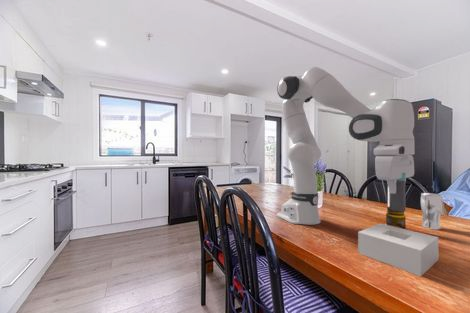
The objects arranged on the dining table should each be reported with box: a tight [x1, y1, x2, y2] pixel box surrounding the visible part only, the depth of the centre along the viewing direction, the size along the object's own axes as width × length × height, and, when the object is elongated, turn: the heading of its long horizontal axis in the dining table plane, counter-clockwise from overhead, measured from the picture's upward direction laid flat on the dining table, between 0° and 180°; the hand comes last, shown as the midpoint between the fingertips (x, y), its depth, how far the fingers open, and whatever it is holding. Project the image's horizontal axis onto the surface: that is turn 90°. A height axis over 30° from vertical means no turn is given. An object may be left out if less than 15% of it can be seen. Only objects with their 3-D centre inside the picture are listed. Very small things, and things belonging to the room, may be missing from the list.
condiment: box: [385, 206, 407, 230], centre depth 81 cm, size 7×8×12 cm
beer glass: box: [420, 192, 443, 231], centre depth 91 cm, size 7×7×15 cm
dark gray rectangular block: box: [389, 173, 407, 213], centre depth 66 cm, size 4×4×12 cm
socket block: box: [357, 223, 439, 277], centre depth 66 cm, size 16×16×7 cm
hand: (396, 192), depth 66 cm, fingers closed on dark gray rectangular block, 4 cm apart
